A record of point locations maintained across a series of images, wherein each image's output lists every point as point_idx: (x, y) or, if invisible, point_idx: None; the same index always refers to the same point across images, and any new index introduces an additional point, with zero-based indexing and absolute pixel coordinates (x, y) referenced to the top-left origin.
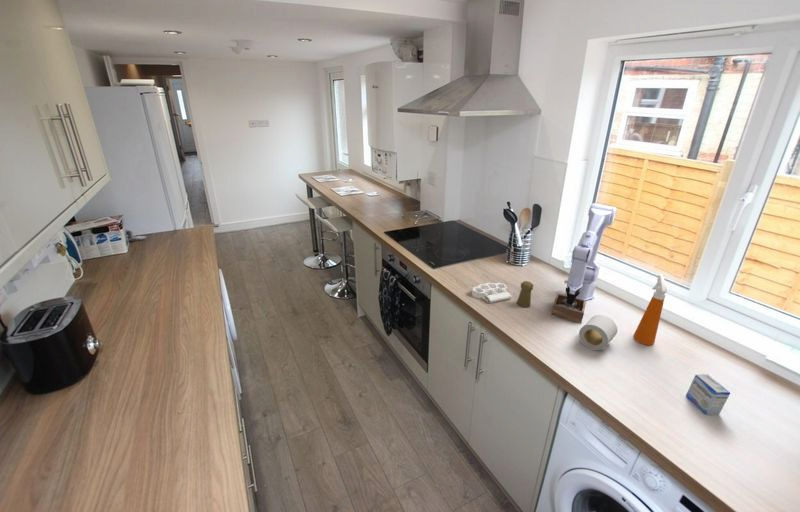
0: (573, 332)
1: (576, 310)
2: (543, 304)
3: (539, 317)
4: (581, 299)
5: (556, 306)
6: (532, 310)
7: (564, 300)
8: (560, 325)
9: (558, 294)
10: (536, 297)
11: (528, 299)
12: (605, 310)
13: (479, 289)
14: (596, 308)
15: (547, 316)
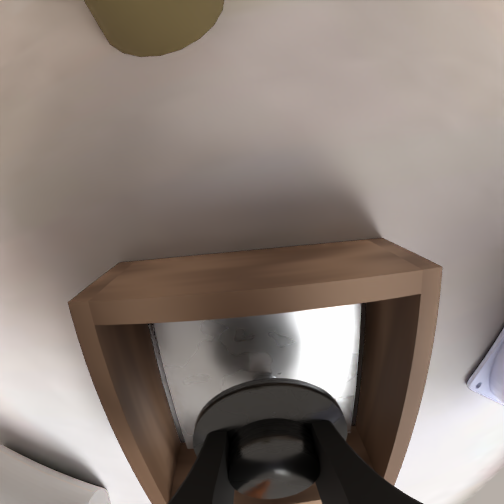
0: (43, 415)
1: (150, 485)
2: (283, 146)
3: (29, 194)
4: (396, 470)
5: (83, 338)
6: (96, 100)
7: (269, 401)
8: (43, 351)
9: (420, 291)
10: (380, 63)
11: (92, 6)
12: (411, 481)
13: None
14: (418, 456)
15: (80, 244)
